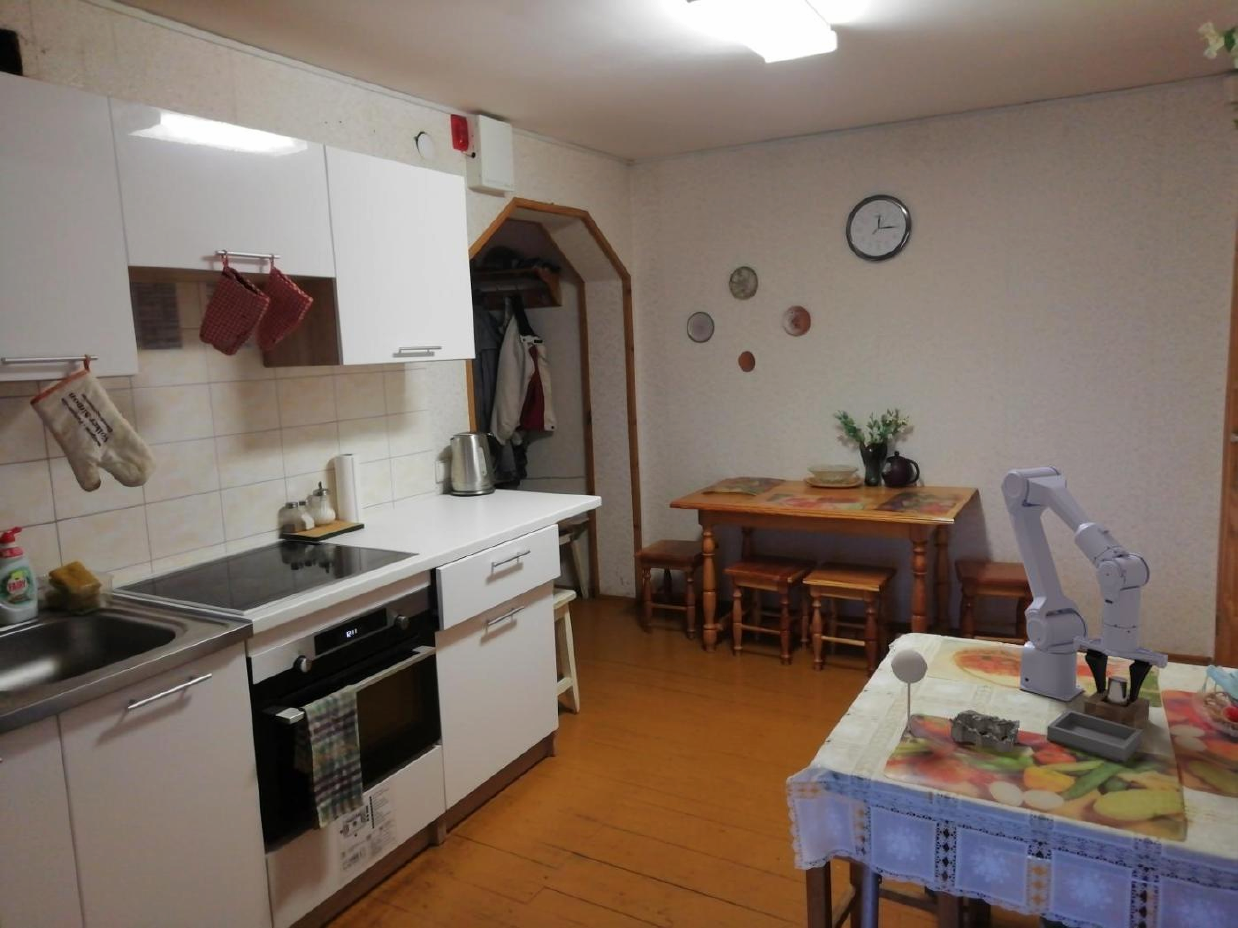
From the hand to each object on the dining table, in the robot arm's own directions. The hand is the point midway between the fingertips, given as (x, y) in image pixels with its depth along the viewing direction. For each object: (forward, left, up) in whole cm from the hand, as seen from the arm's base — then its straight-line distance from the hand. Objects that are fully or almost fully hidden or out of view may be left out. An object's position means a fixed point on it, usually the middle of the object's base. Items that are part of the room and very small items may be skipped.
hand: (1117, 695), depth 153 cm
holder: (0, 0, -5) cm, 5 cm away
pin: (0, 0, -5) cm, 5 cm away
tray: (0, -10, -5) cm, 12 cm away
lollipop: (-25, -28, -5) cm, 38 cm away
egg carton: (-14, -22, -5) cm, 26 cm away
